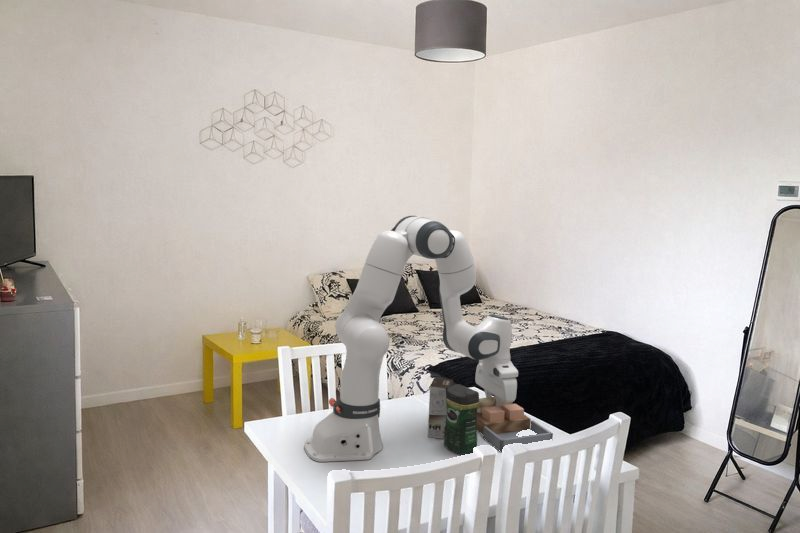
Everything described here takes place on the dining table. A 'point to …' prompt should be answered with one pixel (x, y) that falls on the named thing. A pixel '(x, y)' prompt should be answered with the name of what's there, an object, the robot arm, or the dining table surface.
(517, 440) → the tray
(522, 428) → the board
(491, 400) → the beige wooden block
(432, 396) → the coffee box
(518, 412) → the tile
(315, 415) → the dining table surface
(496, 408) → the tile
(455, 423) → the coffee jar
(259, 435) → the dining table surface
